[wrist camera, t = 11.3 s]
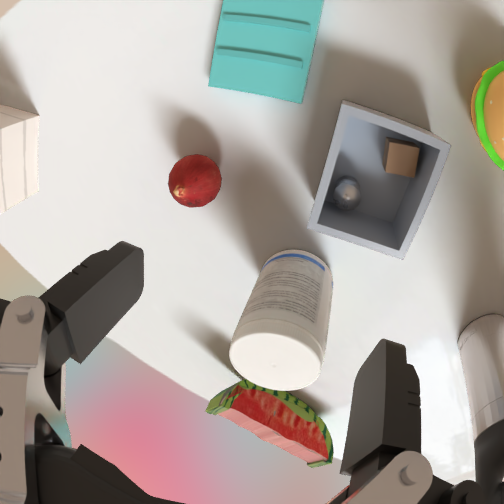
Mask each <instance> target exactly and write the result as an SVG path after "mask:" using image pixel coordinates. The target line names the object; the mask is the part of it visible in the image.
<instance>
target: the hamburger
mask: <svg viewBox="0 0 504 504" xmlns="http://www.w3.org/2000/svg"><path fill="white" fill-rule="evenodd" d="M471 116H472V122H473V125H474V128H475V131H476V133H477V135H478V137H479V140H480V144H481V145H482V147H483V148H484V150H485V151H486V152H487V153H488V155H489V157H490V158H491V160H492V161H493V162H494V163H495V164H496V165H497V166H498V167H500V168H501V169H502V170H503V171H504V61H501V62H499V63H497V64H496V65H494V66H493V67H491V68H488V69H486V70H484V71H483V72H482V77H481V78H480V79H479V81H478V82H477V83H476V85H475V88H474V90H473V93H472V97H471Z"/></svg>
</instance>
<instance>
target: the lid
mask: <svg viewBox="0 0 504 504" xmlns="http://www.w3.org/2000/svg"><path fill="white" fill-rule="evenodd" d="M323 3H324V0H223V5H222V10H221V15H220V20H219V25H218V31H217V36H216V42H215V48H214V54H213V59H212V66H211V72H210V78H209V85H208V86H210V87H217V88H224V89H230V90H236V91H242V92H248V93H253V94H258V95H264V96H268V97H273V98H278V99H283V100H287V101H291V102H296V103H300V104H301V103H302V101H303V97H304V92H305V88H306V83H307V79H308V74H309V69H310V65H311V60H312V55H313V51H314V46H315V41H316V36H317V32H318V27H319V22H320V17H321V12H322V7H323Z"/></svg>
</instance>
